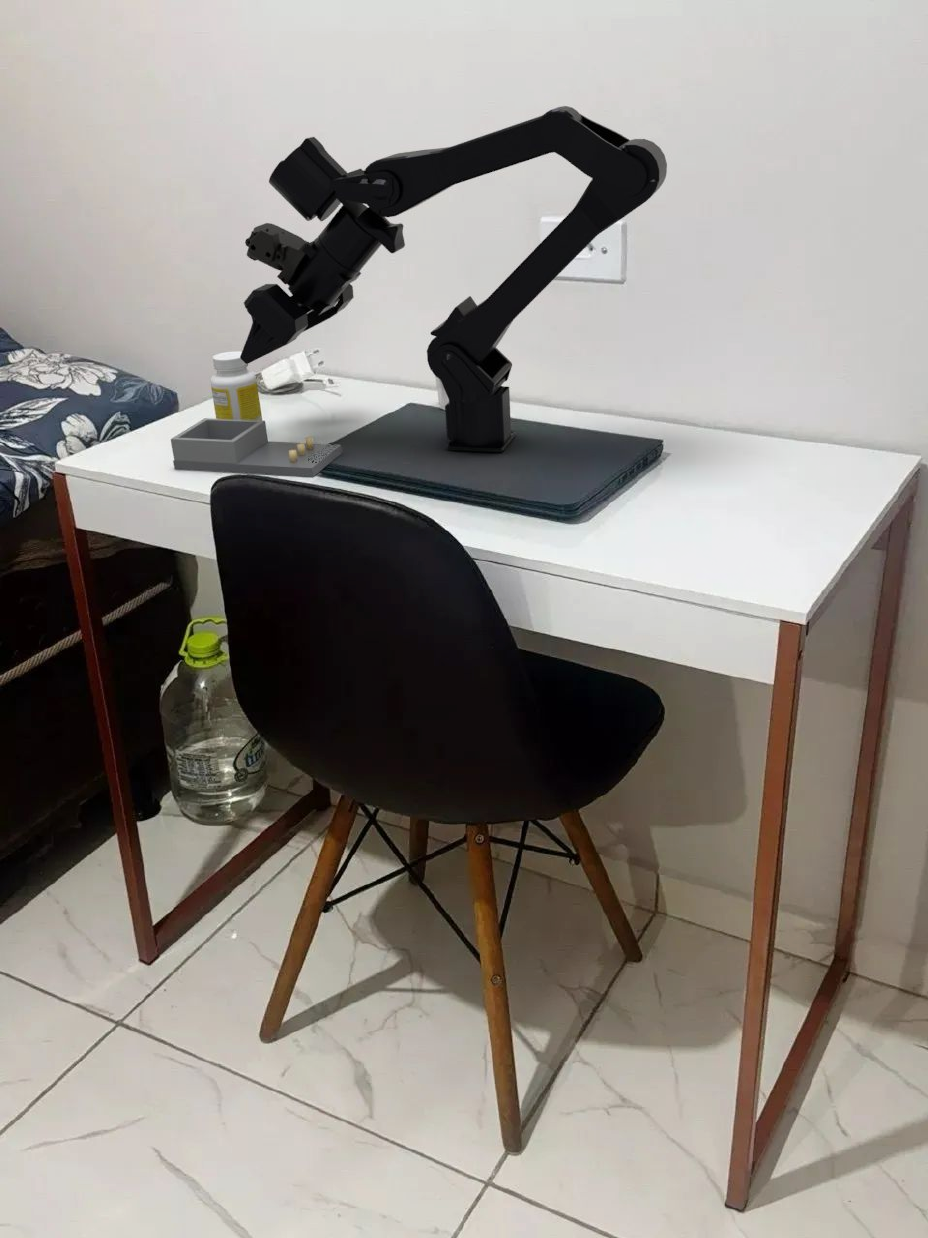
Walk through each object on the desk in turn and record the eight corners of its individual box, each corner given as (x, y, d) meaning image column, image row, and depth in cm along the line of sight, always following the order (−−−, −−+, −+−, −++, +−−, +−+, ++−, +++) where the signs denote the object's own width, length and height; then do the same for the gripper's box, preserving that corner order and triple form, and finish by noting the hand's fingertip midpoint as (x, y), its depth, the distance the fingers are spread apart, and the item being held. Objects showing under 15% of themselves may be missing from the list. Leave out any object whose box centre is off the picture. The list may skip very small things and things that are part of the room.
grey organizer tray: (341, 453, 134) (338, 423, 133) (313, 476, 127) (309, 445, 126) (208, 446, 139) (204, 417, 138) (174, 469, 132) (169, 439, 131)
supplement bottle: (266, 427, 145) (255, 347, 141) (262, 441, 140) (250, 359, 136) (221, 430, 145) (209, 351, 140) (216, 444, 140) (203, 362, 136)
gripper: (318, 186, 136) (243, 283, 144) (249, 210, 120) (169, 318, 128) (388, 256, 137) (310, 349, 145) (329, 289, 121) (246, 391, 129)
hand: (260, 350), depth 137 cm, fingers open, 9 cm apart
